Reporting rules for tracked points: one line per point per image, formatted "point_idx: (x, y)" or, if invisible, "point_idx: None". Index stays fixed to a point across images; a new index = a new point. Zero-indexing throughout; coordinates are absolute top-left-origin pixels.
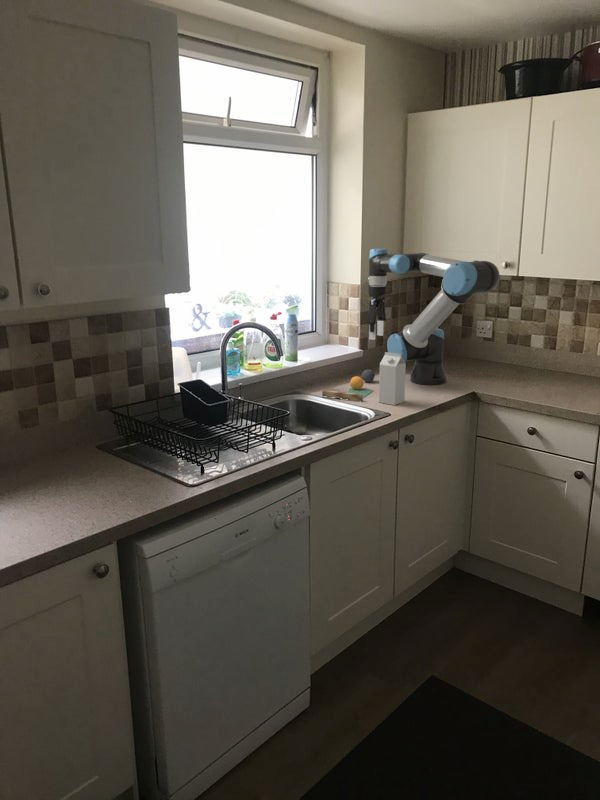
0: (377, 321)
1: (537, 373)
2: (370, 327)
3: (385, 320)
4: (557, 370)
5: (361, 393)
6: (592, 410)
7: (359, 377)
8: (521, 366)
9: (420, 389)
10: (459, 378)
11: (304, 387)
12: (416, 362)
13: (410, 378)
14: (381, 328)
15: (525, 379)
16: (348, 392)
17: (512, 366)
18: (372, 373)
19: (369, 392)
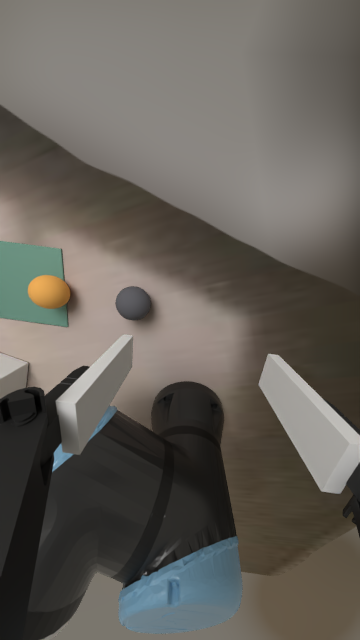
0: (340, 435)
1: (280, 536)
2: (53, 393)
3: (346, 508)
4: (305, 555)
5: (32, 308)
6: None
7: (37, 302)
8: (334, 526)
9: (117, 402)
10: (222, 452)
11: (14, 137)
12: (166, 428)
13: (177, 385)
14: (282, 410)
15: (235, 522)
16: (25, 279)
17: (334, 517)
18: (125, 317)
19: (48, 322)
